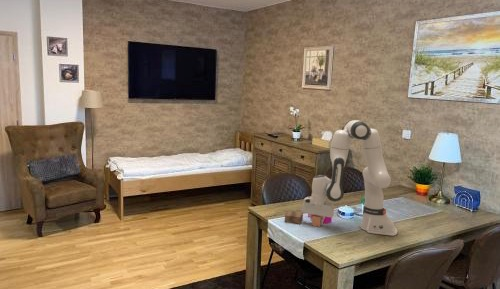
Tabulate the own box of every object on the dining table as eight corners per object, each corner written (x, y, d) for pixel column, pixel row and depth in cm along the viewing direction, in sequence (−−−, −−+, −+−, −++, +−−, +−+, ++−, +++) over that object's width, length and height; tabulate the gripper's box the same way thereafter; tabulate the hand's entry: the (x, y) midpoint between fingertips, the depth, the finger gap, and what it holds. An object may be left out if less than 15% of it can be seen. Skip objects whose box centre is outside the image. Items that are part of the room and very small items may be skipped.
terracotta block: (321, 224, 242) (322, 215, 241) (319, 226, 238) (320, 217, 237) (313, 222, 244) (314, 213, 243) (311, 225, 240) (312, 216, 239)
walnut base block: (302, 220, 250) (303, 212, 250) (300, 224, 241) (300, 217, 240) (287, 218, 253) (288, 210, 253) (284, 222, 244) (285, 215, 243)
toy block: (331, 222, 248) (332, 211, 247) (325, 223, 245) (325, 212, 244) (314, 215, 260) (315, 205, 259) (307, 217, 256) (308, 206, 255)
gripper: (335, 201, 237) (334, 222, 239) (304, 196, 246) (303, 217, 248) (333, 204, 232) (332, 226, 234) (301, 199, 240) (300, 220, 242)
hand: (316, 221), depth 241 cm, fingers closed on terracotta block, 5 cm apart
